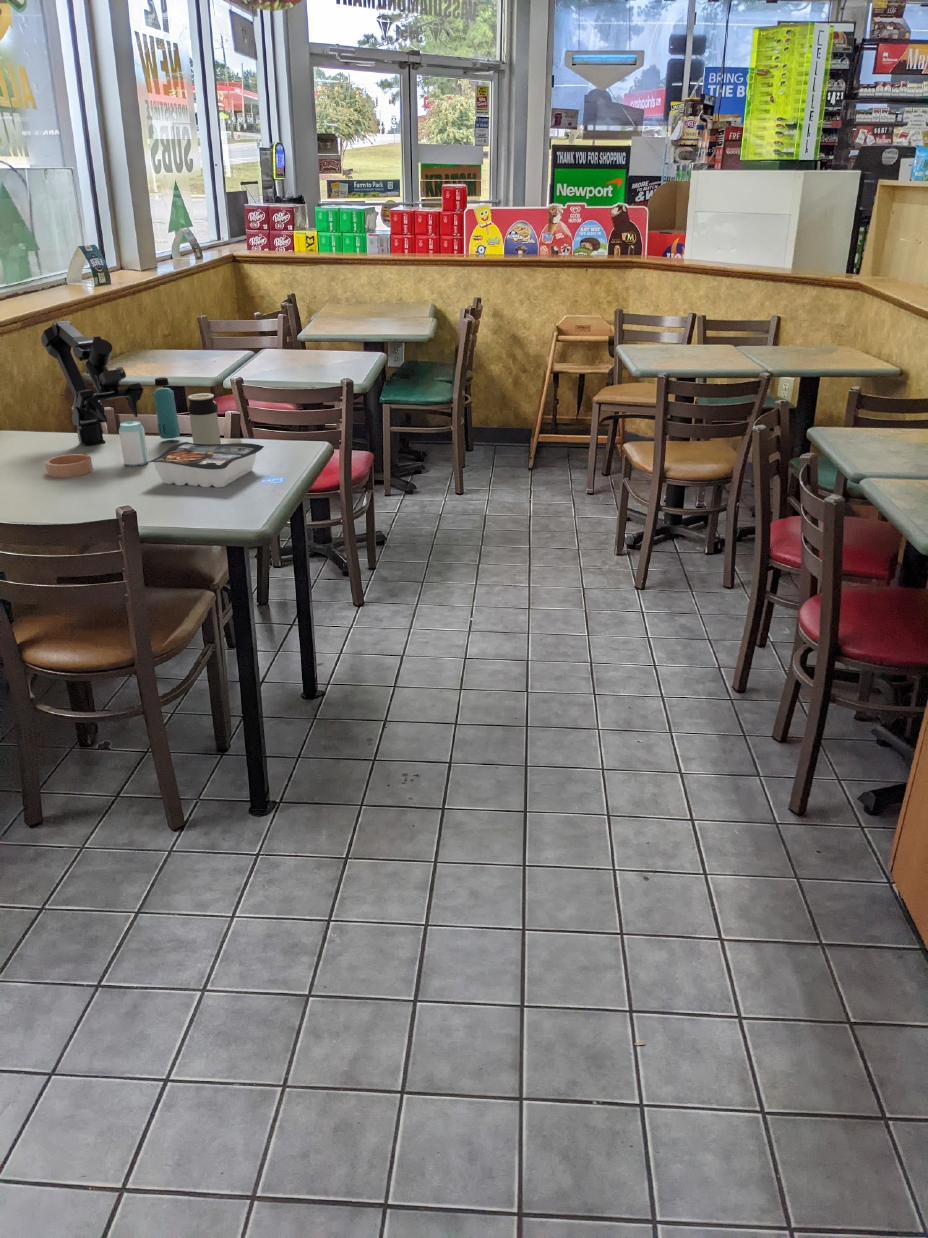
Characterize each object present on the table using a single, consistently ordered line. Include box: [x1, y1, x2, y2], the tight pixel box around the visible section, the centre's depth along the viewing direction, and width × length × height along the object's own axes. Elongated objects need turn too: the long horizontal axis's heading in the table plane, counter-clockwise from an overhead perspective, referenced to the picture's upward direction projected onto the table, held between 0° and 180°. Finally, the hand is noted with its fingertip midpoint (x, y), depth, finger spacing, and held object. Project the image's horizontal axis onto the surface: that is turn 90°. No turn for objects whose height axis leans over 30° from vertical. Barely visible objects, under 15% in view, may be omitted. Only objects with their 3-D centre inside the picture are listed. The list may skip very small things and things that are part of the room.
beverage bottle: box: [152, 376, 181, 440], centre depth 309 cm, size 6×7×20 cm
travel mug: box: [187, 392, 222, 444], centre depth 292 cm, size 8×8×18 cm
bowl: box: [44, 453, 94, 479], centre depth 283 cm, size 12×12×4 cm
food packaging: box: [144, 441, 265, 488], centre depth 274 cm, size 25×8×23 cm
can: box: [118, 420, 150, 467], centre depth 287 cm, size 7×7×12 cm
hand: (121, 418), depth 289 cm, fingers open, 9 cm apart
